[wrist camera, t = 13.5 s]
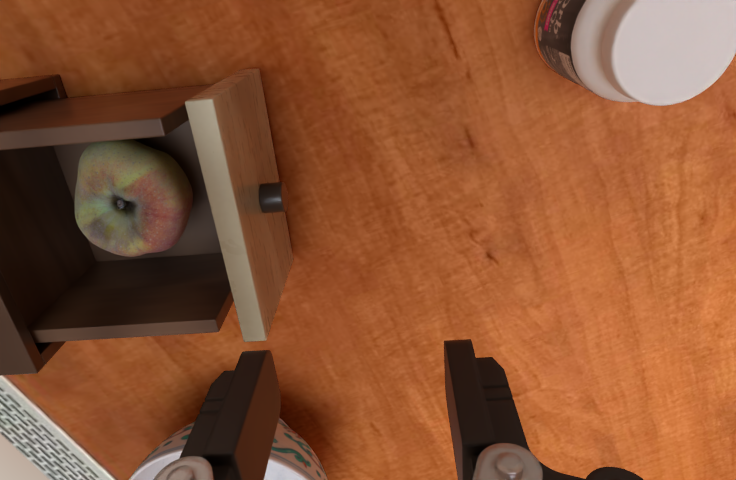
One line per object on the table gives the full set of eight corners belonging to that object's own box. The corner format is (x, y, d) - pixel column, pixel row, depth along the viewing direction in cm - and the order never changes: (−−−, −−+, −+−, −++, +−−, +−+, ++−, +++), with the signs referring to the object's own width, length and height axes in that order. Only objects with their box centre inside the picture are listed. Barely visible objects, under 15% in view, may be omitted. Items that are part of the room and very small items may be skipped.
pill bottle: (585, -61, 26) (690, -86, 17) (661, 11, 27) (794, 23, 19) (509, 36, 28) (566, 59, 19) (582, 98, 30) (667, 147, 21)
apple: (145, 256, 33) (99, 307, 28) (82, 138, 30) (16, 171, 24) (231, 234, 32) (201, 283, 27) (176, 110, 29) (129, 138, 23)
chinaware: (194, 503, 46) (161, 594, 40) (136, 377, 40) (85, 459, 33) (357, 491, 45) (352, 582, 38) (325, 357, 38) (312, 438, 32)
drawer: (280, 66, 28) (241, 96, 21) (311, 258, 34) (289, 339, 26) (31, 89, 29) (-96, 126, 22) (99, 272, 35) (17, 355, 27)
